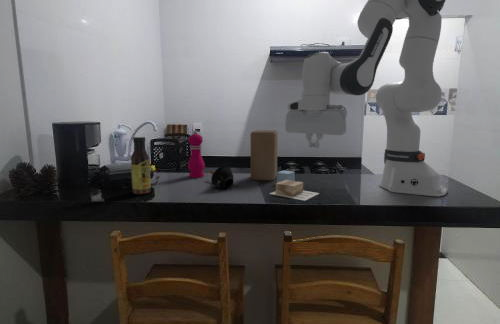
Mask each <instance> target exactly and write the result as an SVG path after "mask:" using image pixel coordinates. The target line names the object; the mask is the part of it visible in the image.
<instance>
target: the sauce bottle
mask: <svg viewBox="0 0 500 324" xmlns="http://www.w3.org/2000/svg"><path fill="white" fill-rule="evenodd" d="M132 137H133V136H132ZM132 140H133V150H134V151H133V152H132V154H131V156H130V159H131V160H130V161H131V162H130V163H131V164H130V169H131V172H130V173H131V188H132V193H133V194H134V195H145V194H149V193H150V192H151V168H150V167H151V163H150V157H149V154H148V152H147V150H146V136H135V137H133V138H132Z"/></svg>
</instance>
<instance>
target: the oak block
mask: <svg viewBox="0 0 500 324" xmlns="http://www.w3.org/2000/svg"><path fill="white" fill-rule="evenodd" d="M275 191H276V193H277V194H283V195H288V196H295V195H297V194H300V193H302V192H303V191H304V182H303V181H296V180H295V181H291V180H284V181H281V182H278V183H277V182H276V183H275Z"/></svg>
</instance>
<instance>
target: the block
mask: <svg viewBox="0 0 500 324" xmlns="http://www.w3.org/2000/svg"><path fill="white" fill-rule="evenodd" d="M277 172H278V131H277V130H274V129H273V130H271V129H270V130H267V129H266V130H265V129H264V130H263V129H256V130H254V131H252V132H250V179H251V180H252V181H275V179H277Z"/></svg>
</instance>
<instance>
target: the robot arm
mask: <svg viewBox="0 0 500 324" xmlns="http://www.w3.org/2000/svg"><path fill="white" fill-rule="evenodd" d="M446 1H447V0H367V2H366V3H365V4H364V6H363V8H362V10H361V12H360V13H359V16H358V19H357V28H358V30H359V32H360V33H361V34H362V35H363V36H364V38H366V39H367V40H366V42H365V43H364V46H363V48H362V51H361V52H360V54H359V56H358V57H356V58H355V59H354V60H352V61H350V62H347V63H346V62H345V63H342V62H339V61H338V60H336V59H335V58H334V57H332V56H331V54H330V53H329V52H328V51H320V52H316V53H311V54H308V55H307V56H306V57H305V58H304V61H303V65H302V73H301V74H302V77H301V83H302V88H303V89H302V91H301V99H298V100H296V101H293V102H290V103H288V104H287V110H288V112H287V113H286V116H285V123H284V124H285V125H284V126H285V130H286V132H287V133H291V134H292V133H295V134H296V133H297V134H305V139H306V140H307V142H308V147H309V148H310V149H312V148H314V149H319V148H320V142H321V141H322V139H323V138H324V135H327V136H329V135H331V136H343V135H345V134H346V133H347V120H346V118H347V109H346V107H345V106H343V105H342V104H337V105H336V104H330V101H331V97H330V96H331V94H332V95H338V96H339V95H341V96H342V95H344V96H345V95H351V96H362V95H365V94H366V93H368V92H369V91H371V88H372V86H373V85H374V82H375V78H376V74H377V69H378V66H379V64H380V63H381V60H382V58H383V56H384V55H385V54H384V53H385V52H386V49H387V47H388V45H389V42H390V40H391V38H392V35H393V32H394V31H393V29H394V27H393V25H394V23H395V21H396V20H403V19H407V18H408V27H407V29H406V33H405V37H404V40H403V43H402V47H401V51H400V56H399V59H398V61H399V62H398V63H399V65H400V67H401V68H402V69H404V79H403V80H402V81H392V82H389V83H386V84H384V85H382V86H380V87H379V88H378V90H377V91H376V93H375V103H376V105H377V106H378V107H379V108H380V110H381V112H382V114H383V116H384V120H385V125H386V148H385V149H384V152H383V154H384V156H383V163H384V167H383V172H382V175H381V176H382V177H381V178H380V182H379V185H378V186H379V187H381V188H382V189H385V190H387V191H389V192H391V193H399V194H409V195H417V196H426V197H427V196H428V197H442V196H445V195H446V194H447V192H448V189H447V187H445V186H444V185H443V186H442V185H441V177H440V174H439V173H438V172H437V171H436V170H435V169H434V168H432V167H431V166H430V165H429V164H428V163H426V162H425V159H426V153H425V152H423V151H422V150H420V143H421V142H420V141H421V129H420V126H419V125H418V124H417V123H416V122H415V120H414V117H413V115H412V113H423V112H427V111H431V110H435V108H437V107H438V106H439V105H440V103H441V101H442V97H443V92H442V88H441V86H440V84H439V83H438V82H437V81H436V79H435V77H434V71H433V70H434V62H435V57H436V53H437V49H438V44H439V41H440V36H441V31H442V20H443V19H442V14H441V13H440V12H441V10H442V9H443V8H444V4H445V2H446ZM313 135H316V136H315V137H316V140H315V141H314V140H313V138H312V137H313Z"/></svg>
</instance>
